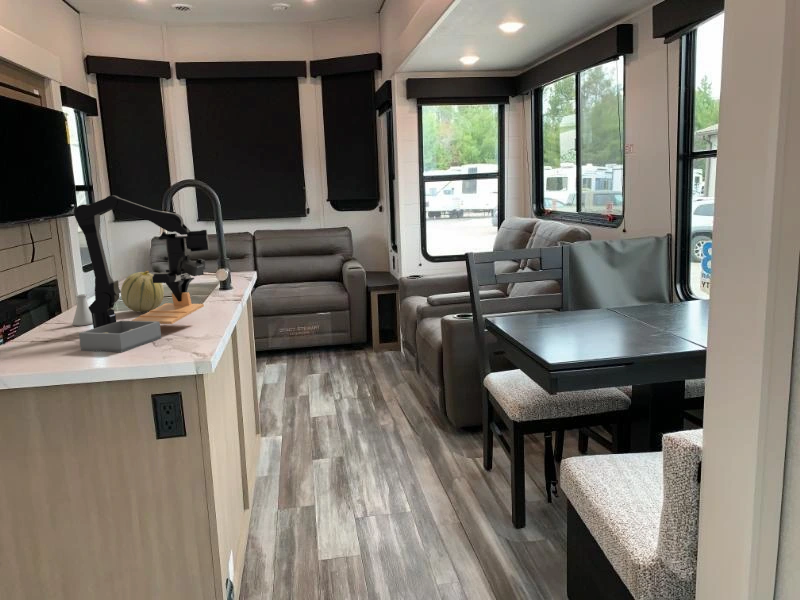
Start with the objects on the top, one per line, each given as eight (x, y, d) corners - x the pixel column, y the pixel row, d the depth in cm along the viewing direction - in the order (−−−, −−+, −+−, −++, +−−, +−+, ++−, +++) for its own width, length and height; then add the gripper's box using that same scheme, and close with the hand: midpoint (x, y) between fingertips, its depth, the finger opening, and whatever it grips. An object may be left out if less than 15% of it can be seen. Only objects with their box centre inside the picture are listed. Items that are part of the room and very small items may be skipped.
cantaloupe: (131, 309, 237) (126, 269, 235) (171, 306, 238) (166, 267, 236) (116, 317, 223) (111, 274, 220) (159, 314, 224) (154, 272, 221)
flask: (68, 326, 211) (63, 296, 209) (85, 321, 218) (81, 292, 216) (84, 326, 208) (80, 297, 207) (101, 322, 215) (97, 293, 213)
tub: (81, 350, 175) (78, 332, 174) (122, 336, 190) (120, 320, 189) (122, 352, 171) (119, 334, 170) (161, 338, 186) (159, 321, 185)
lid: (132, 324, 194) (128, 308, 193) (166, 307, 209) (163, 291, 208) (172, 325, 190) (168, 308, 188) (204, 308, 205) (201, 292, 203)
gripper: (178, 256, 191) (184, 306, 194) (214, 249, 209) (219, 296, 211) (148, 256, 195) (154, 306, 197) (186, 249, 212) (191, 295, 215)
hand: (181, 300), depth 205 cm, fingers closed on lid
